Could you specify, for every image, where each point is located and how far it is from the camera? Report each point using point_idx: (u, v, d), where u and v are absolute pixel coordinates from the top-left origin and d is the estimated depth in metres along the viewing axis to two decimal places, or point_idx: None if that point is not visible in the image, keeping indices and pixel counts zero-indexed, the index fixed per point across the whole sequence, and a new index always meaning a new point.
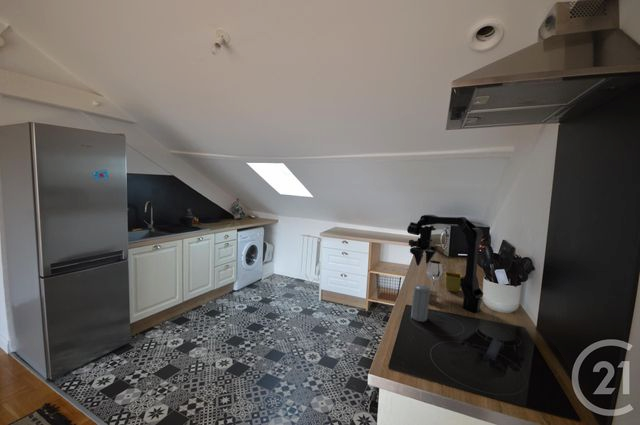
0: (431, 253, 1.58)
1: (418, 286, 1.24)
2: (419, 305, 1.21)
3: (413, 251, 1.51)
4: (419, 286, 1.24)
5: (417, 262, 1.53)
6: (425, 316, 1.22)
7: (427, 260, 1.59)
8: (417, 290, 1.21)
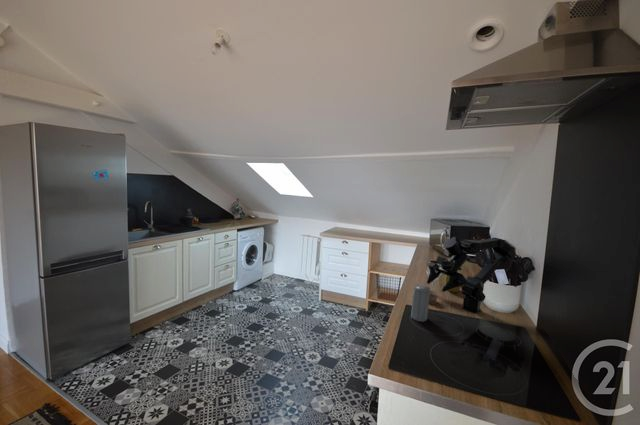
0: (436, 275, 1.32)
1: (418, 286, 1.24)
2: (419, 305, 1.21)
3: (462, 280, 1.19)
4: (419, 286, 1.24)
5: (446, 288, 1.22)
6: (425, 316, 1.22)
7: (430, 281, 1.31)
8: (417, 290, 1.21)
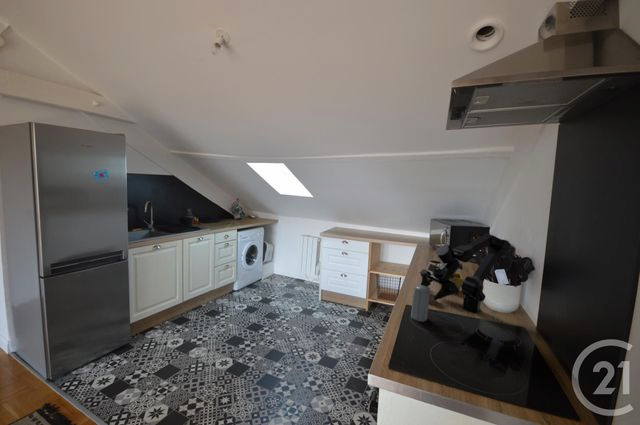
0: (428, 283, 1.31)
1: (418, 286, 1.24)
2: (419, 305, 1.21)
3: (454, 288, 1.17)
4: (419, 286, 1.24)
5: (438, 297, 1.20)
6: (425, 316, 1.22)
7: None
8: (417, 290, 1.21)
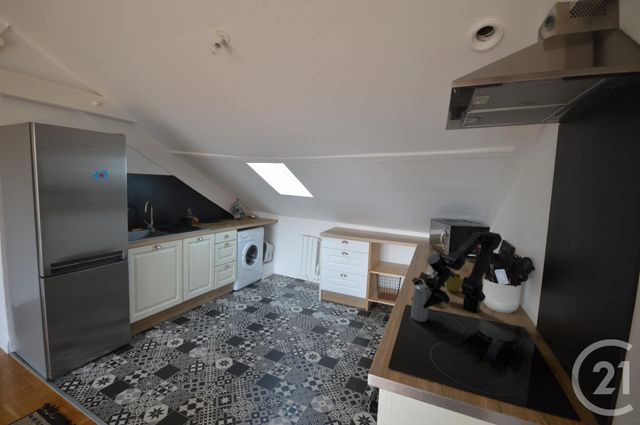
0: None
1: (418, 286, 1.24)
2: (419, 305, 1.21)
3: (445, 297, 1.16)
4: (419, 286, 1.24)
5: (427, 305, 1.20)
6: (425, 316, 1.22)
7: None
8: (417, 290, 1.21)
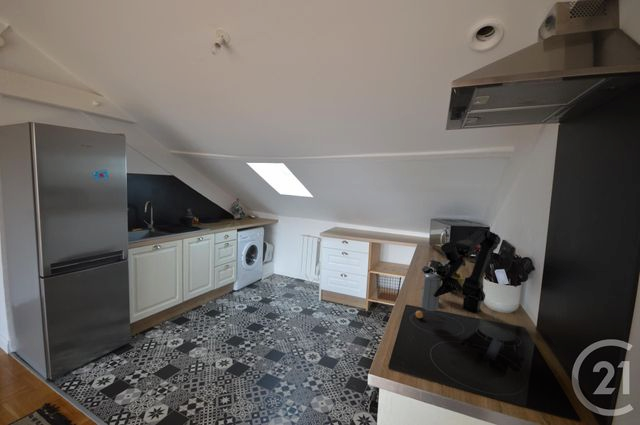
0: None
1: (428, 274, 1.19)
2: (429, 294, 1.16)
3: (457, 286, 1.11)
4: (429, 274, 1.19)
5: (438, 294, 1.15)
6: (436, 305, 1.17)
7: None
8: (427, 279, 1.16)
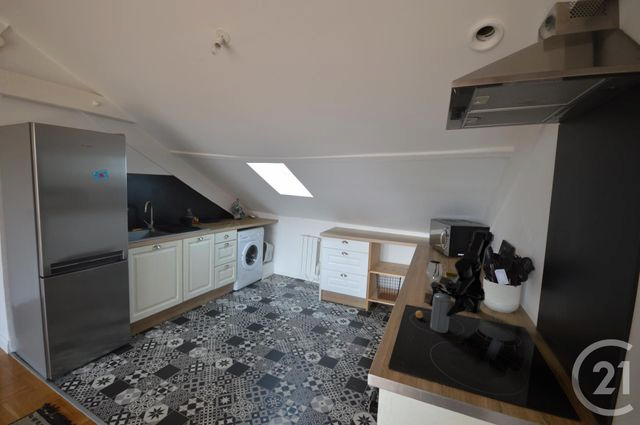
0: None
1: (438, 294, 1.16)
2: (440, 315, 1.12)
3: (469, 304, 1.07)
4: (439, 294, 1.16)
5: (451, 313, 1.10)
6: (446, 327, 1.13)
7: None
8: (437, 299, 1.13)
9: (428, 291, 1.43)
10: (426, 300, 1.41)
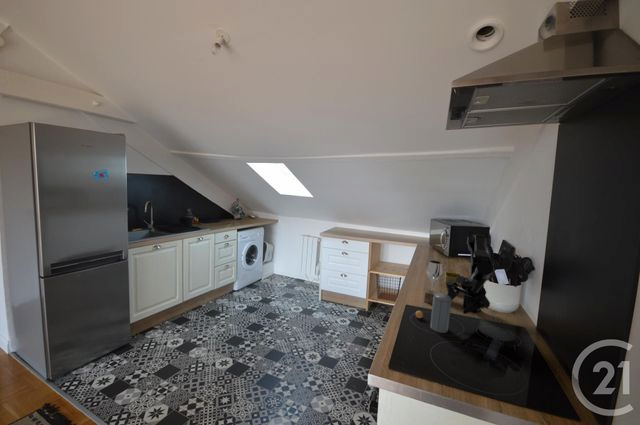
0: (455, 295, 1.24)
1: (438, 294, 1.16)
2: (440, 315, 1.12)
3: (485, 301, 1.11)
4: (439, 294, 1.16)
5: (467, 310, 1.13)
6: (446, 327, 1.13)
7: None
8: (437, 299, 1.13)
9: (428, 291, 1.43)
10: (426, 300, 1.41)
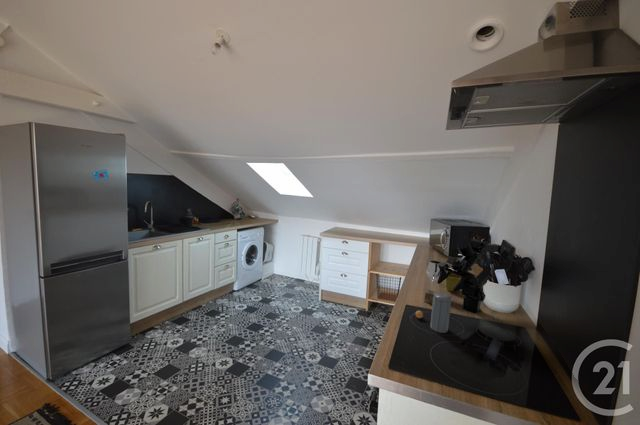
0: (447, 275, 1.33)
1: (438, 294, 1.16)
2: (440, 315, 1.12)
3: (474, 280, 1.19)
4: (439, 294, 1.16)
5: (457, 288, 1.22)
6: (446, 327, 1.13)
7: (440, 281, 1.31)
8: (437, 299, 1.13)
9: (428, 291, 1.43)
10: (426, 300, 1.41)
